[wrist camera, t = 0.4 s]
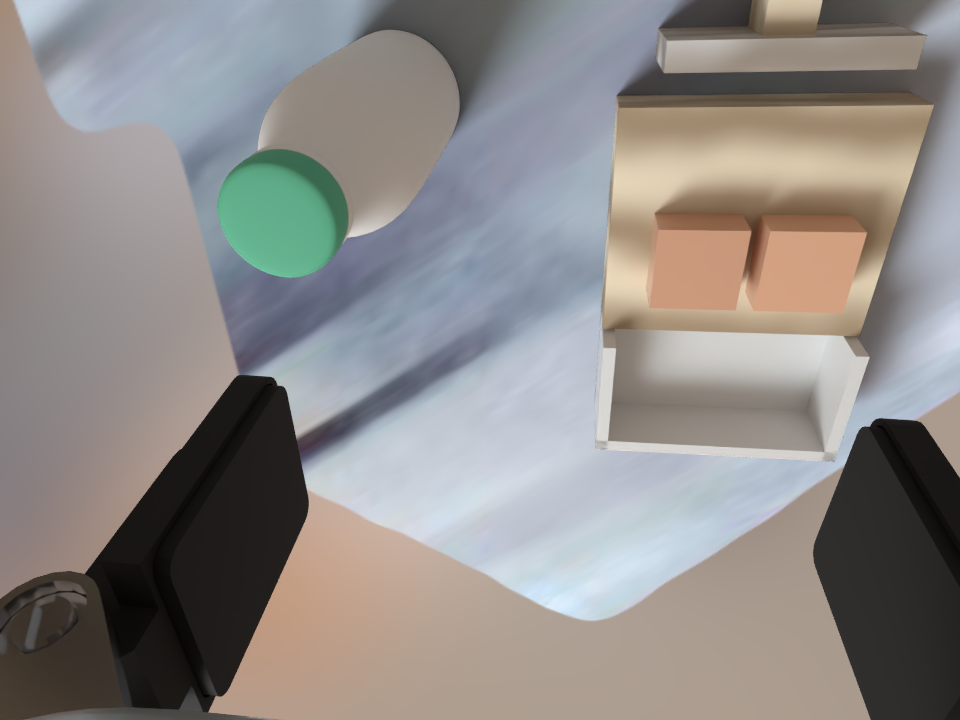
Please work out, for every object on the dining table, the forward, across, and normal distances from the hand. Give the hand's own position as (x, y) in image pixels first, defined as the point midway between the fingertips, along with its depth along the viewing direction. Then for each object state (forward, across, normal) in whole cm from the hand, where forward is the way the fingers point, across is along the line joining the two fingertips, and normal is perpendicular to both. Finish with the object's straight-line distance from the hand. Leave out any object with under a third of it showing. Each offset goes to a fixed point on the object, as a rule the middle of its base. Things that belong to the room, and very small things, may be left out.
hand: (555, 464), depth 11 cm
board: (+33, -11, +8) cm, 36 cm away
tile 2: (+30, -8, +9) cm, 33 cm away
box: (+33, -11, +19) cm, 40 cm away
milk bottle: (+33, +10, +1) cm, 35 cm away
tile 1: (+30, -14, +9) cm, 35 cm away
